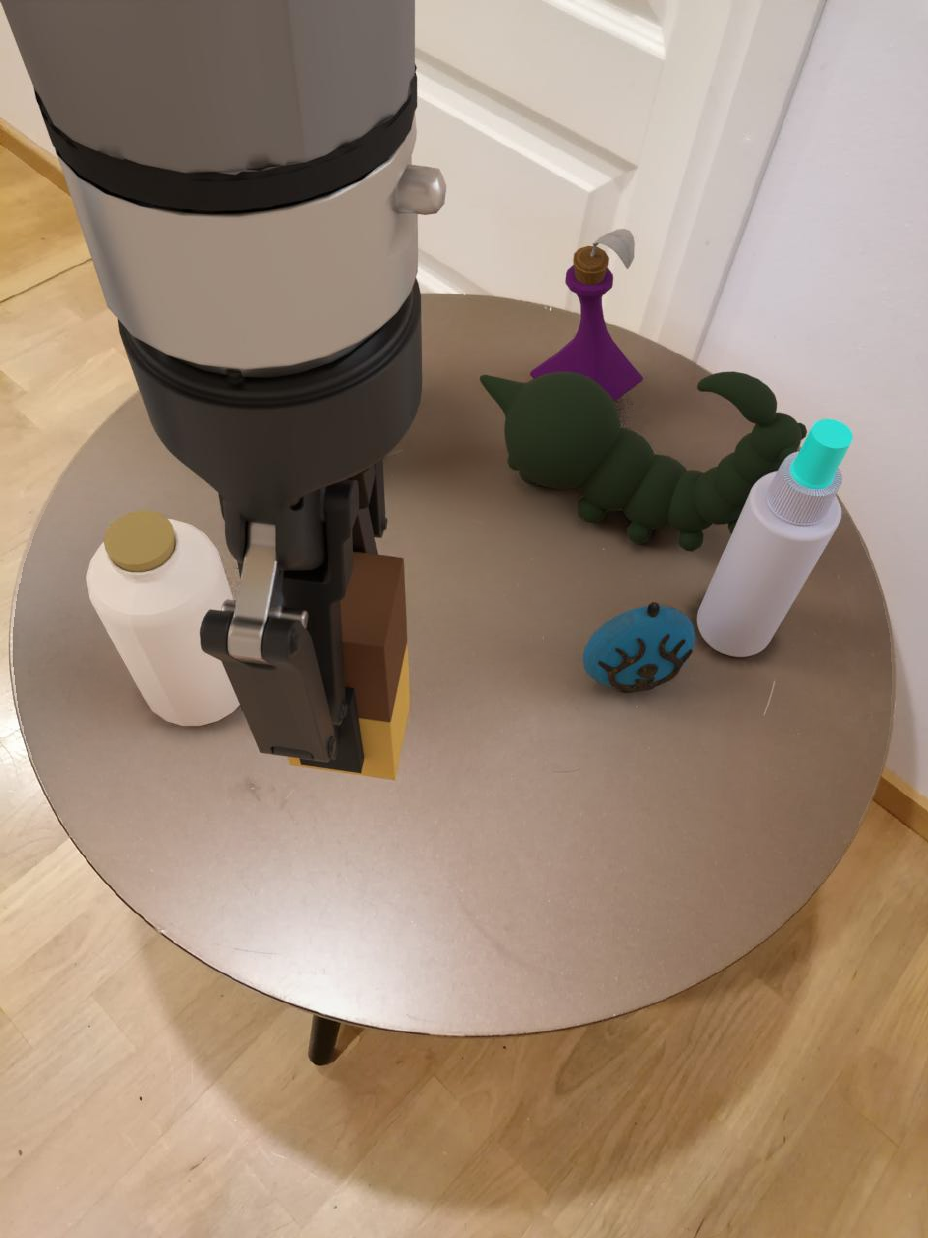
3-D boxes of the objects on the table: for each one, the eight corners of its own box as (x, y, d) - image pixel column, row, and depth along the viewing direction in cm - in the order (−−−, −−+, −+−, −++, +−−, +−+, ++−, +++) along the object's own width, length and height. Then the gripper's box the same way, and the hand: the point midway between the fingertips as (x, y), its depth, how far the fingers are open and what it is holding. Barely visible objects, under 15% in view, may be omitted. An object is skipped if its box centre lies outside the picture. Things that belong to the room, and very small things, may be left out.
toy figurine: (743, 525, 83) (491, 409, 86) (840, 369, 66) (526, 234, 70) (708, 604, 78) (444, 478, 82) (805, 457, 62) (469, 308, 65)
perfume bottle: (525, 399, 88) (545, 228, 73) (580, 362, 91) (609, 191, 76) (583, 443, 85) (616, 276, 70) (637, 404, 88) (680, 235, 73)
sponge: (395, 781, 43) (384, 647, 33) (289, 765, 43) (246, 628, 33) (410, 704, 45) (404, 557, 35) (309, 690, 46) (274, 540, 35)
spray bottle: (770, 602, 76) (879, 404, 58) (771, 665, 73) (886, 477, 55) (696, 590, 77) (780, 391, 58) (693, 653, 74) (782, 462, 55)
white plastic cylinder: (187, 619, 74) (124, 465, 59) (277, 661, 72) (237, 513, 57) (121, 703, 70) (36, 560, 54) (215, 750, 68) (154, 615, 53)
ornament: (584, 711, 70) (605, 643, 62) (570, 658, 73) (588, 586, 64) (689, 696, 71) (724, 627, 63) (672, 645, 74) (703, 571, 65)
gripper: (346, 584, 18) (391, 913, 38) (467, 109, 27) (452, 574, 47) (-26, 534, 19) (210, 886, 38) (216, 83, 28) (306, 554, 47)
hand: (343, 713), depth 43 cm, fingers closed on sponge, 4 cm apart
